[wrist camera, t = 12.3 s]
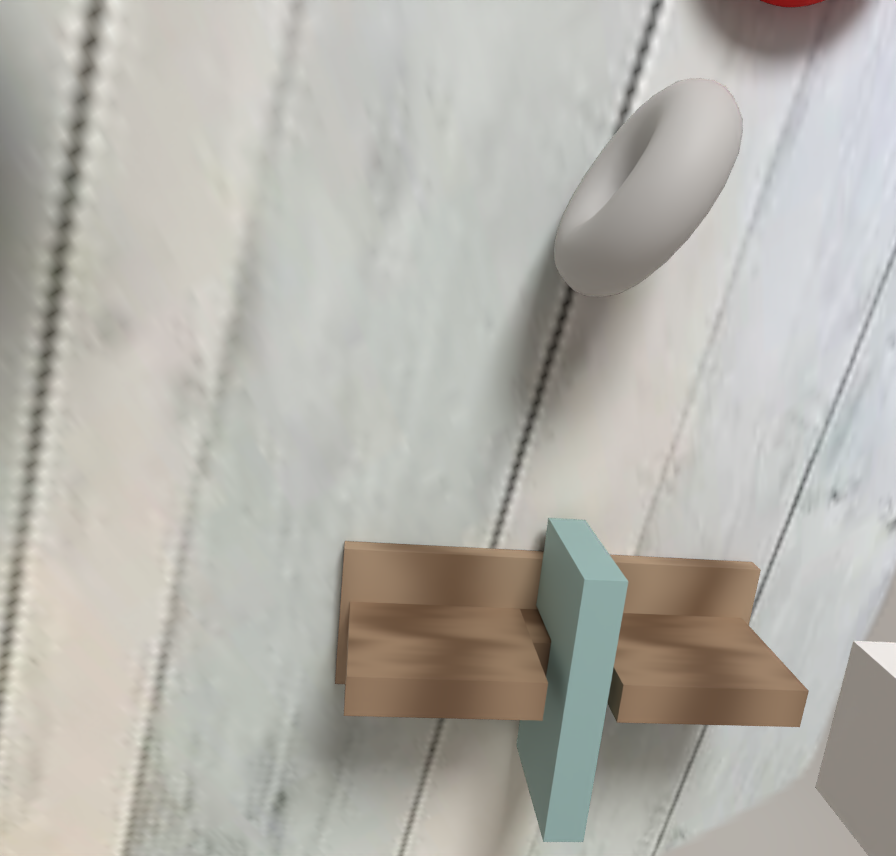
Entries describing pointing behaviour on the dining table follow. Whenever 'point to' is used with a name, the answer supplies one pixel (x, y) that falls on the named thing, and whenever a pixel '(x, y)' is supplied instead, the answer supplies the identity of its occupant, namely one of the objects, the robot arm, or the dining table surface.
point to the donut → (649, 188)
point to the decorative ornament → (792, 2)
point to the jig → (528, 643)
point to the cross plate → (572, 676)
